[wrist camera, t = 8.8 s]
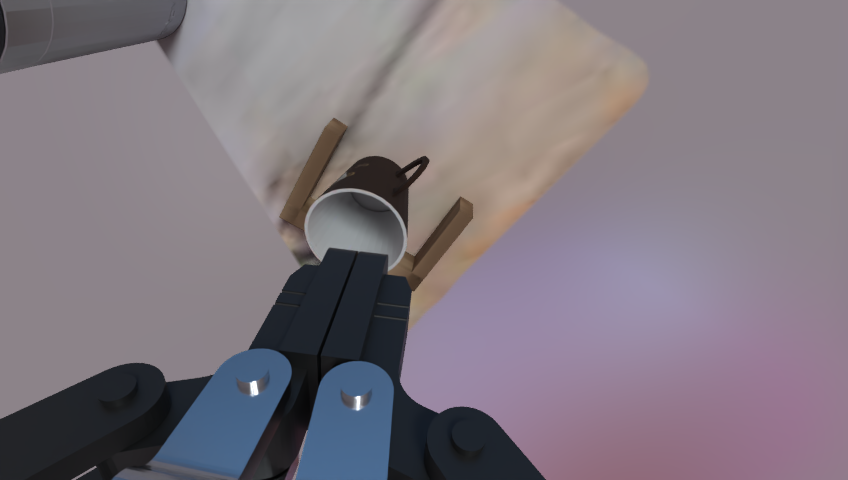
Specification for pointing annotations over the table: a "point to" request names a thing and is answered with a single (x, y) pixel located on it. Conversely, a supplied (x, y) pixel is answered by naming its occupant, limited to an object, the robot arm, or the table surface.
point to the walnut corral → (408, 265)
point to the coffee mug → (364, 210)
